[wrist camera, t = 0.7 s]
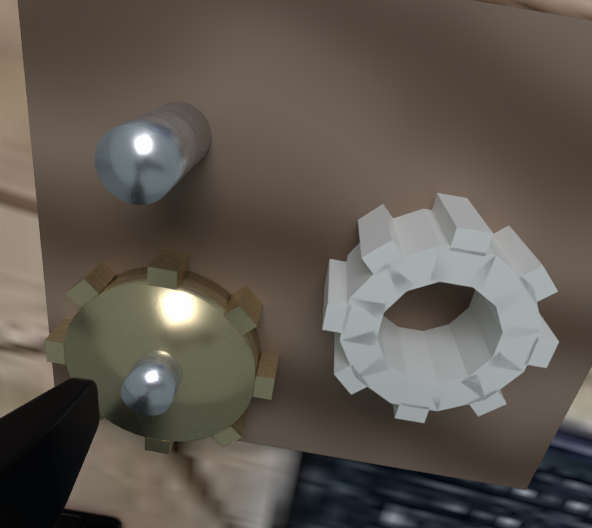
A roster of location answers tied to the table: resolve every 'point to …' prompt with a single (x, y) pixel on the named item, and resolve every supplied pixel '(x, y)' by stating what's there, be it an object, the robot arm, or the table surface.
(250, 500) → the table surface
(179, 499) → the table surface
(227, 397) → the brass gear
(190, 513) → the table surface
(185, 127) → the peg
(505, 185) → the gear board
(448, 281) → the pale gear
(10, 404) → the table surface
